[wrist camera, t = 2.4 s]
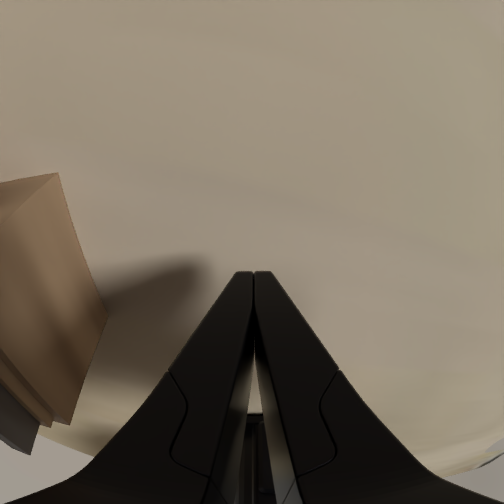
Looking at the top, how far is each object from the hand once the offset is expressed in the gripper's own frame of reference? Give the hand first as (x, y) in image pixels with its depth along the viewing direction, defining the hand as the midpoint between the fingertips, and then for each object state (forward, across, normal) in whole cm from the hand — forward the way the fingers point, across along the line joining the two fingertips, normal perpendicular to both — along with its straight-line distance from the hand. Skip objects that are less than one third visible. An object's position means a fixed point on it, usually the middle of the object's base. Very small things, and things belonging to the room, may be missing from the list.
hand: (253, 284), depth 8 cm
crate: (+2, +10, 0) cm, 10 cm away
